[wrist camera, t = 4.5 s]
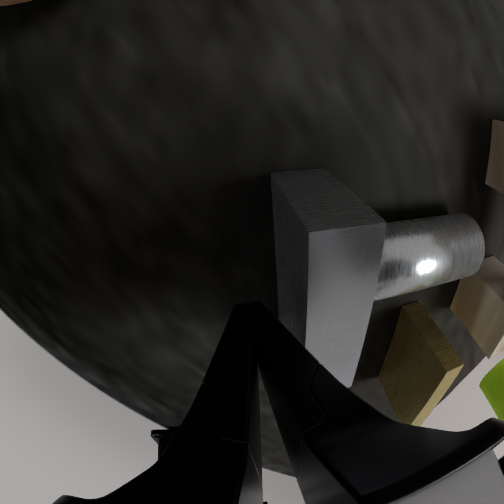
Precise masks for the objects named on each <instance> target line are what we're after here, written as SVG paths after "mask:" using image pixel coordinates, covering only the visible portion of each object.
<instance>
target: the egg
mask: <svg viewBox="0 0 504 504" xmlns="http://www.w3.org/2000/svg"><path fill="white" fill-rule="evenodd" d="M28 1H31V0H0V6H7V5H12V4H18V3H24V2H28Z"/></svg>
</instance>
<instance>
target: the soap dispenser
mask: <svg viewBox="0 0 504 504" xmlns="http://www.w3.org/2000/svg"><path fill="white" fill-rule="evenodd" d="M480 388H481V390H482V391H483V393H484V394H485V396H486V398H487V399H488V401H489V403H490V405H491V406H492V408H493V410H494V411H495V413H496V415H497V417H498V418H499V419H500V420H504V359H503V360H502V361H500V362H499V363H498V364H497V365H496V366H495V367H494V368H493V369H492V370H491V371H490V372H489V373H488V374H487V375H486V376H485V377H484V378H483V380H482V381H481V383H480Z"/></svg>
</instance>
